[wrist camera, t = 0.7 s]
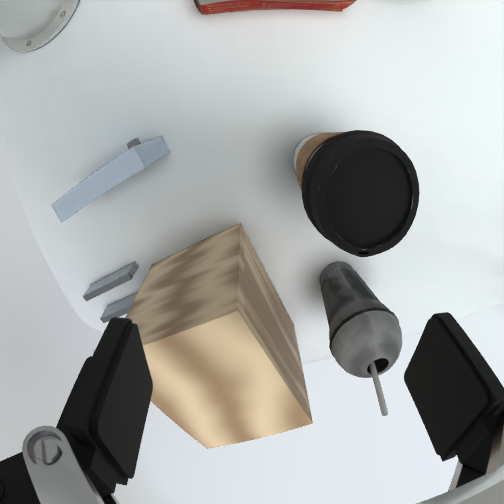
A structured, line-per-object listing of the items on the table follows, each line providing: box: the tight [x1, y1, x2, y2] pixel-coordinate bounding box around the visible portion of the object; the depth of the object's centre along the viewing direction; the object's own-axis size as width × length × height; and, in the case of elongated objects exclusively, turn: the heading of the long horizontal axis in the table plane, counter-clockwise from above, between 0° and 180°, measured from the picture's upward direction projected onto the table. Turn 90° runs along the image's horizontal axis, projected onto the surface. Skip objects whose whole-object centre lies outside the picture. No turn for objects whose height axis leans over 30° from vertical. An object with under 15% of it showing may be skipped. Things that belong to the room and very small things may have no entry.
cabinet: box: [126, 223, 312, 449], centre depth 32 cm, size 12×16×16 cm
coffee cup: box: [293, 130, 419, 257], centre depth 25 cm, size 8×8×15 cm
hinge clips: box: [83, 262, 138, 323], centre depth 37 cm, size 8×5×3 cm, turn 116°
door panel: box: [51, 136, 170, 223], centre depth 27 cm, size 10×3×9 cm, turn 115°
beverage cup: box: [320, 262, 402, 416], centre depth 29 cm, size 7×7×20 cm
